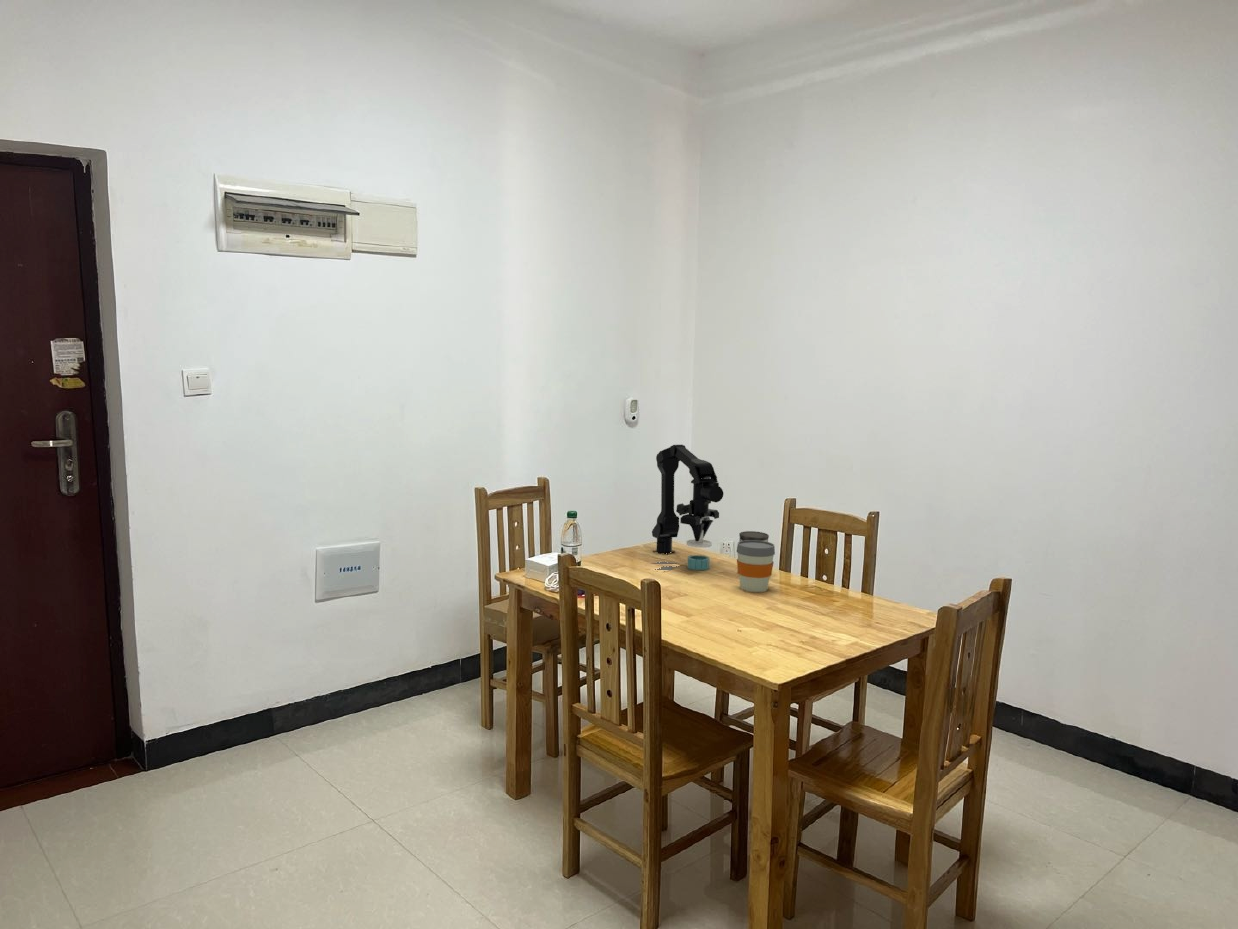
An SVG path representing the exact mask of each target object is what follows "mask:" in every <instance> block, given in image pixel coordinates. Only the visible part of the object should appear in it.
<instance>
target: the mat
mask: <svg viewBox="0 0 1238 929" xmlns="http://www.w3.org/2000/svg"><path fill="white" fill-rule="evenodd" d="M663 561H664V560H663ZM656 562H657V561H656ZM667 562H668V563H667ZM651 564H678V562H670V561H666V562H665V561H664V562H660V563H659V562H657V563H654V562H652V563H651ZM677 568H679V566H678V567H677V566H676V567H672V566H669V567H667V566H666V567H664V566H663V567H661V569H660V568H659V569H657V570H669V571H672V570H674V569H677ZM655 570H656V569H655Z"/></svg>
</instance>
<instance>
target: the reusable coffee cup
mask: <svg viewBox="0 0 1238 929" xmlns="http://www.w3.org/2000/svg"><path fill="white" fill-rule="evenodd" d="M736 553H737V559H736V565H737V574H738V575H739V588H740V589H741V590H742V589H744V590H743V591H745V590H746V592H750V593H751V592H752V593H762V592H763V593H764V592H766V591H768V588H769V582H770V577H771V576H772V575H773V574H772V572H773V567H774V555H776V552H775V544H774V543H772V542H769V541H768V542H766V541H759V540H745V541H740V542H739V541H738V542H737V546H736Z"/></svg>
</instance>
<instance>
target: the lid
mask: <svg viewBox="0 0 1238 929" xmlns="http://www.w3.org/2000/svg"><path fill="white" fill-rule="evenodd" d="M703 532H704V530H702V533H701V536H700V539H699V541H695V539H689V540H686V546H689V547H692V548H709V547H712V544H713V543H712V542H711V541H710V540H706V539H704V538H703Z"/></svg>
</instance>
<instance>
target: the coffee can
mask: <svg viewBox="0 0 1238 929" xmlns="http://www.w3.org/2000/svg"><path fill="white" fill-rule="evenodd" d="M738 536H739V540H738V542H740V541H745V540H759V541H766V542H769V538H770V536H769V534H768V533H766V532H762V531H753V530H750V531H749V530H746V531H741V532H739V535H738Z"/></svg>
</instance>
